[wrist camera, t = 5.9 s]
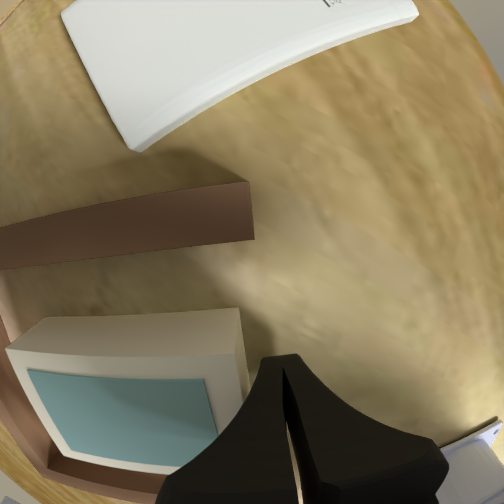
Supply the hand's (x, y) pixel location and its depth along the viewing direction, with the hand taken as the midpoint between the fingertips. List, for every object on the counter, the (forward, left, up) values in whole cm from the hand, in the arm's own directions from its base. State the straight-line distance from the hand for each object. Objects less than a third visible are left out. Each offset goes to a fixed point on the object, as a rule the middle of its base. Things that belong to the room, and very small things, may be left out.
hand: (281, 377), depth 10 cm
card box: (0, +6, -1) cm, 6 cm away
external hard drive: (+15, 0, -2) cm, 15 cm away
